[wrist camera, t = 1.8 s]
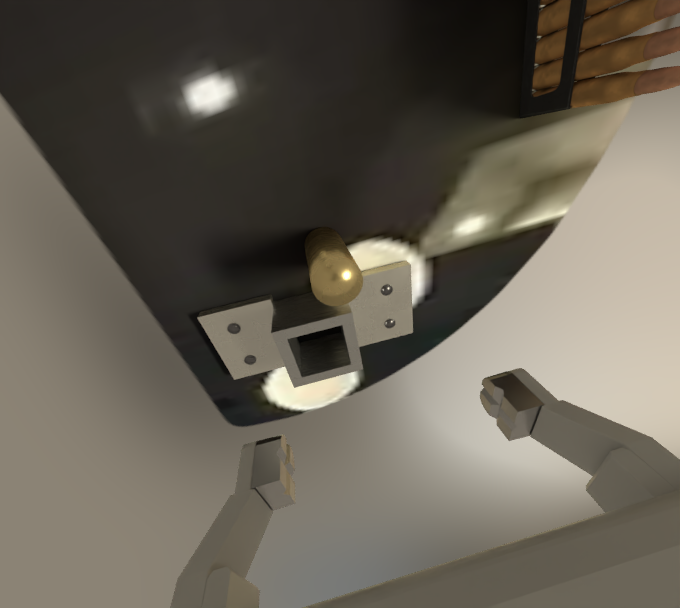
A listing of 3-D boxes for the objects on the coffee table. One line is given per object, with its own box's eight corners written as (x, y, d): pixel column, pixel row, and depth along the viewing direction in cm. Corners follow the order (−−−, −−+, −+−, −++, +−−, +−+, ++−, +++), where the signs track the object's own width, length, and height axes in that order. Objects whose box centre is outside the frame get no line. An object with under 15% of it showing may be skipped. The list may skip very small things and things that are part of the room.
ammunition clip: (537, 112, 24) (713, 87, 14) (518, 118, 24) (681, 99, 14) (555, -65, 19) (871, -313, 9) (530, -55, 19) (817, -292, 9)
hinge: (200, 311, 29) (181, 346, 24) (406, 260, 30) (430, 283, 25) (235, 372, 34) (227, 412, 29) (409, 327, 35) (429, 357, 30)
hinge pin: (300, 231, 26) (305, 266, 19) (338, 222, 26) (359, 253, 19) (309, 267, 28) (318, 311, 21) (345, 258, 29) (366, 299, 21)
